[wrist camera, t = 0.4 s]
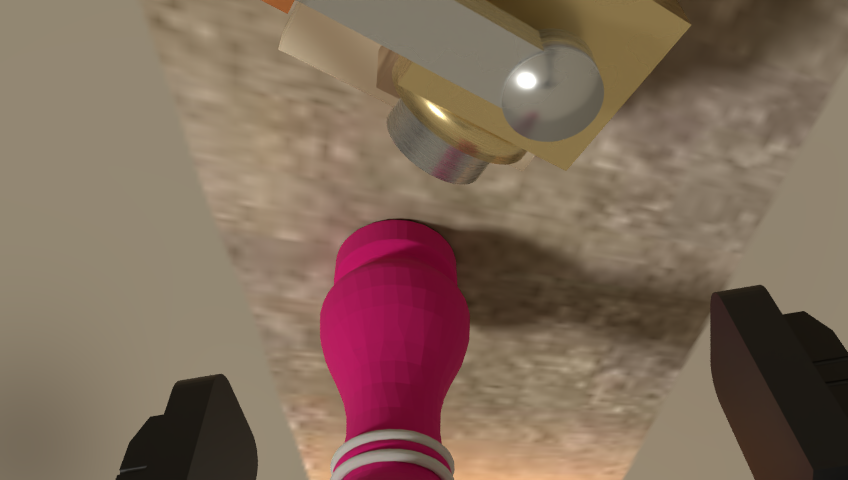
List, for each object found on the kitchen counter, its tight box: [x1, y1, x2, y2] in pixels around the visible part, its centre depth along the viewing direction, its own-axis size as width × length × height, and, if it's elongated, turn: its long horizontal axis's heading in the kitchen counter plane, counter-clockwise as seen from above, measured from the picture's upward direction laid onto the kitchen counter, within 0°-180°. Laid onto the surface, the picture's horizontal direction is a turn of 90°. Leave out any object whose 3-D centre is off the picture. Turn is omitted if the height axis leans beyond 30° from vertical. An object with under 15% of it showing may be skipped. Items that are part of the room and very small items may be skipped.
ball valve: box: [387, 0, 691, 185], centre depth 26 cm, size 12×6×7 cm, turn 149°
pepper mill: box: [320, 220, 470, 480], centre depth 35 cm, size 7×7×20 cm
